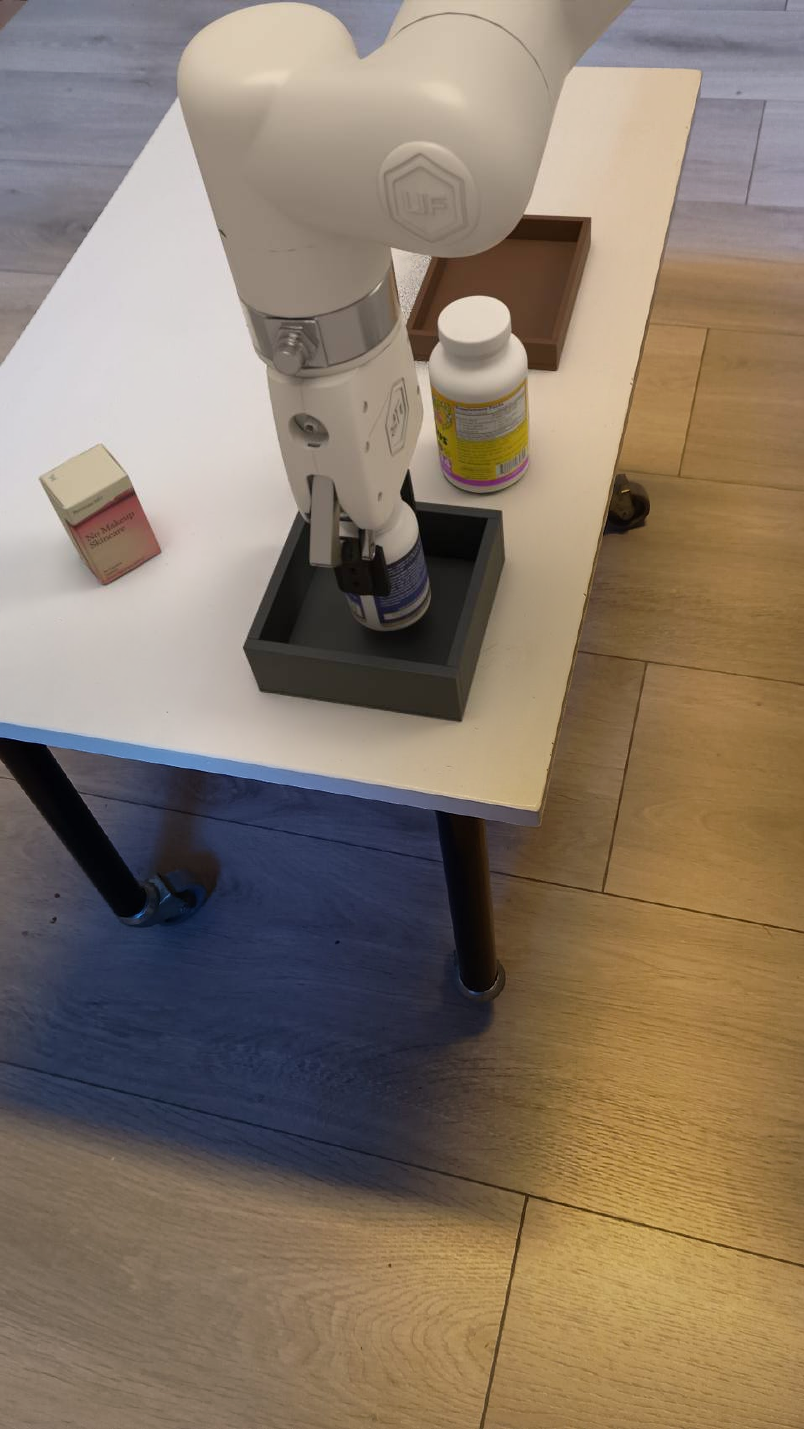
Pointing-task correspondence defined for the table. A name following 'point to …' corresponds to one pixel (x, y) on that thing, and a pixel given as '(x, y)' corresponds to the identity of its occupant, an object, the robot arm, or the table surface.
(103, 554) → the small box
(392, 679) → the dark grey open box
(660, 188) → the table surface
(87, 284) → the table surface
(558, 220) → the tray
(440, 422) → the supplement bottle
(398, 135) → the robot arm
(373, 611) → the pill bottle
